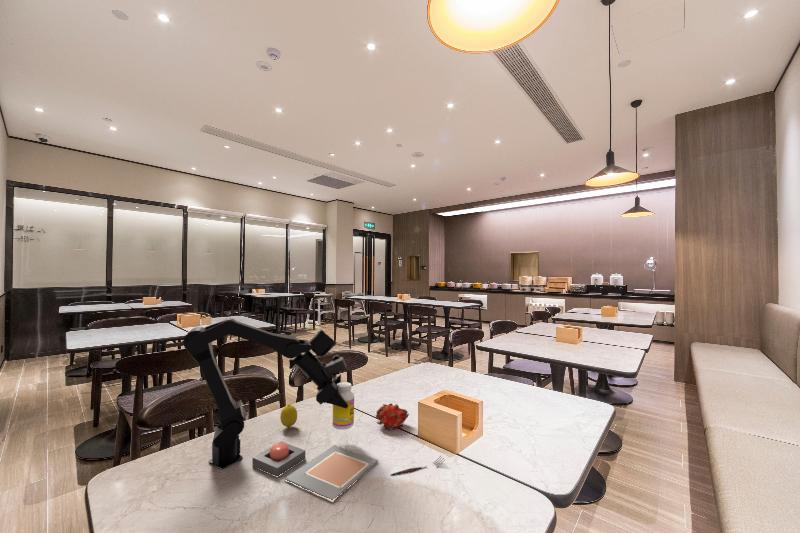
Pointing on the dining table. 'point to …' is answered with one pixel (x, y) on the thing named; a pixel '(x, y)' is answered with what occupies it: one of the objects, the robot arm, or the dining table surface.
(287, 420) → the lemon
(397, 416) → the dragon fruit
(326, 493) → the picture board
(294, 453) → the button frame
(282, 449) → the button
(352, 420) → the supplement bottle
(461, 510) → the dining table surface
